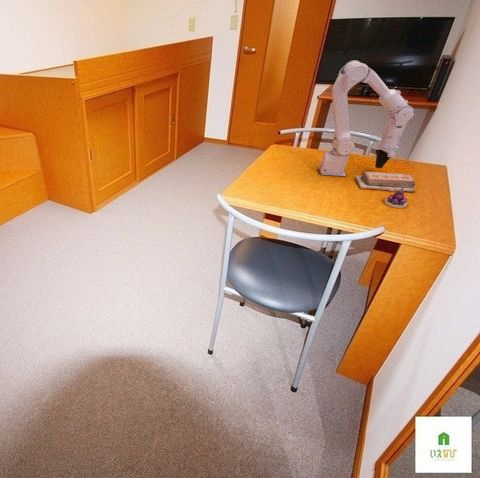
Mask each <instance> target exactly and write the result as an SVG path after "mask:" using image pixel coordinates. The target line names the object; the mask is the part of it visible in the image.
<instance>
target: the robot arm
mask: <svg viewBox="0 0 480 478" xmlns="http://www.w3.org/2000/svg"><path fill="white" fill-rule="evenodd" d="M359 83H365V84H367V85H369V86H370V87H371V88H372V90H374V91H375V93H376V94H378V96H379V98H378V102H379V103H380V105H381V106H382V107H383V108H384V109H385V110H386V111H387V112H388V114H389V116H390V118H389V120H388V122H387V124H386V127H385V130H384V132H383V134H382V136H381V139H380V140H379V141H378V143H377V149H375V167H374V168H376V169H383V168H384V166H385V165H386V164H387V162H388V161H389V160H390V159H392V158H395V156H396V151H397V150H399V149H400V146H398V144H399V142H400V139H401V137H402V135H403V132H404V130H405V128H406V126H407V123H408V121H410V120H411V119H412V118H413V117H414V116H415V109H414V107H412V106H411V105H409V104H408V103H409V101H408V100H407V99H405V98H404V97H403V96H402V95H401V94H402V92H401V90H399V89H397V90H396V89H395V88H392V89H391V88H390V89H389V88H388V86H387V85H386V84H385V82H384V81H383V80H382V79H381V78H380V76H379V75H378V74H377V72H376V71H374V70H373V69H372V68H371V67H369V66H368V65H367V64H366V63H363V62H360V61H359V60H354V59H353V60H350V61H348V62H347V63H346V64H345V65H344V66H343V67H341V69H340V70H339V73H338V76H337V77H336V80H335V82H334V83H333V86H332V88H331V99H332V111H333V122H334V133H333V138H332V141H331V145H332V148H331V150H330V151H325V152H324V153H323V154H322V157H321V160H320V164H319V167H318V169H319V173H320V175H322V176H335V177H346V176H347V174H346V172H345V169H346V167H347V164H348V161H349V158H350V156H351V154H352V153H353V152H354V150H355V147H356V146H355V145H356V144H355V143H354V142H353V140H352V134H351V131H350V116H349V99H348V92H349V91H350V90H351V89H352V88H353V87H354V86H356V85H357V84H359Z"/></svg>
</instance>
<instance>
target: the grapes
mask: <svg viewBox="0 0 480 478" xmlns="http://www.w3.org/2000/svg"><path fill="white" fill-rule="evenodd" d="M403 188H404V187H402V189H401V190H399V191H394V193H393V194H390V195H389V196H388V197H387V198H385V200H384V204H385V205H386V206H389V207H392V208H395V209H402V208H406V207H407V205H408V204H407V202H408V198H407V197H406V196H405V191H403Z"/></svg>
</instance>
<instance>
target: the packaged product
mask: <svg viewBox="0 0 480 478" xmlns="http://www.w3.org/2000/svg"><path fill="white" fill-rule="evenodd" d="M355 180H356V182H357V184H358V185H359V187H360V189H363V190H364V189H367V190H368V189H370V190H381V191H389V192H397V191H399V190H401V189H402V187H404V188H403V191H404V192H408V193H414V192H416V189H415V188H414V187H415V186H416V180H415V178H414V177H413V175H412V174H411V173H399V172H397V173H396V172H384V171H367V170H366V171H362V174H361V175H359V174H357V175H355Z"/></svg>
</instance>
